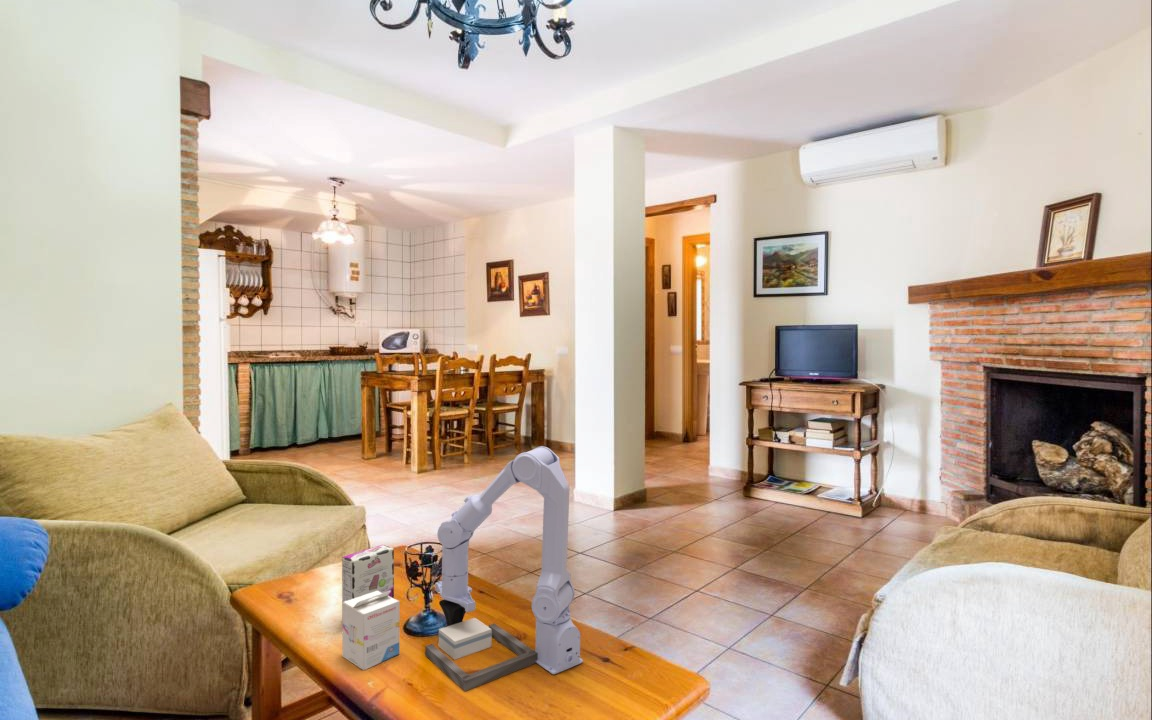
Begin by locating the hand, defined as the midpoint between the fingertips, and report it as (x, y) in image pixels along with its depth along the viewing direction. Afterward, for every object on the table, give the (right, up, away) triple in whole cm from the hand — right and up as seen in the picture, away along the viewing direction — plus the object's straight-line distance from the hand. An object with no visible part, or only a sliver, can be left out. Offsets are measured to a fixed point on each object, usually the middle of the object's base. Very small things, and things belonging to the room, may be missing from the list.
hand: (454, 632), depth 136 cm
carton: (+3, -2, -4) cm, 5 cm away
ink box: (-16, -1, -8) cm, 18 cm away
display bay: (+8, -2, -10) cm, 12 cm away
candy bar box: (-22, -1, +7) cm, 23 cm away
